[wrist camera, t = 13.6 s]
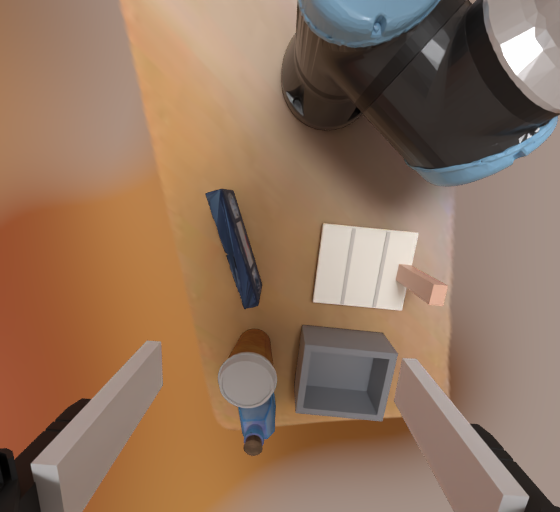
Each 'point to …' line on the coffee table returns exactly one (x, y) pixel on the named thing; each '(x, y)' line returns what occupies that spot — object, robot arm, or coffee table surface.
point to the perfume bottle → (257, 425)
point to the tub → (343, 373)
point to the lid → (371, 269)
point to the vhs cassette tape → (236, 245)
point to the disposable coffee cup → (248, 371)
